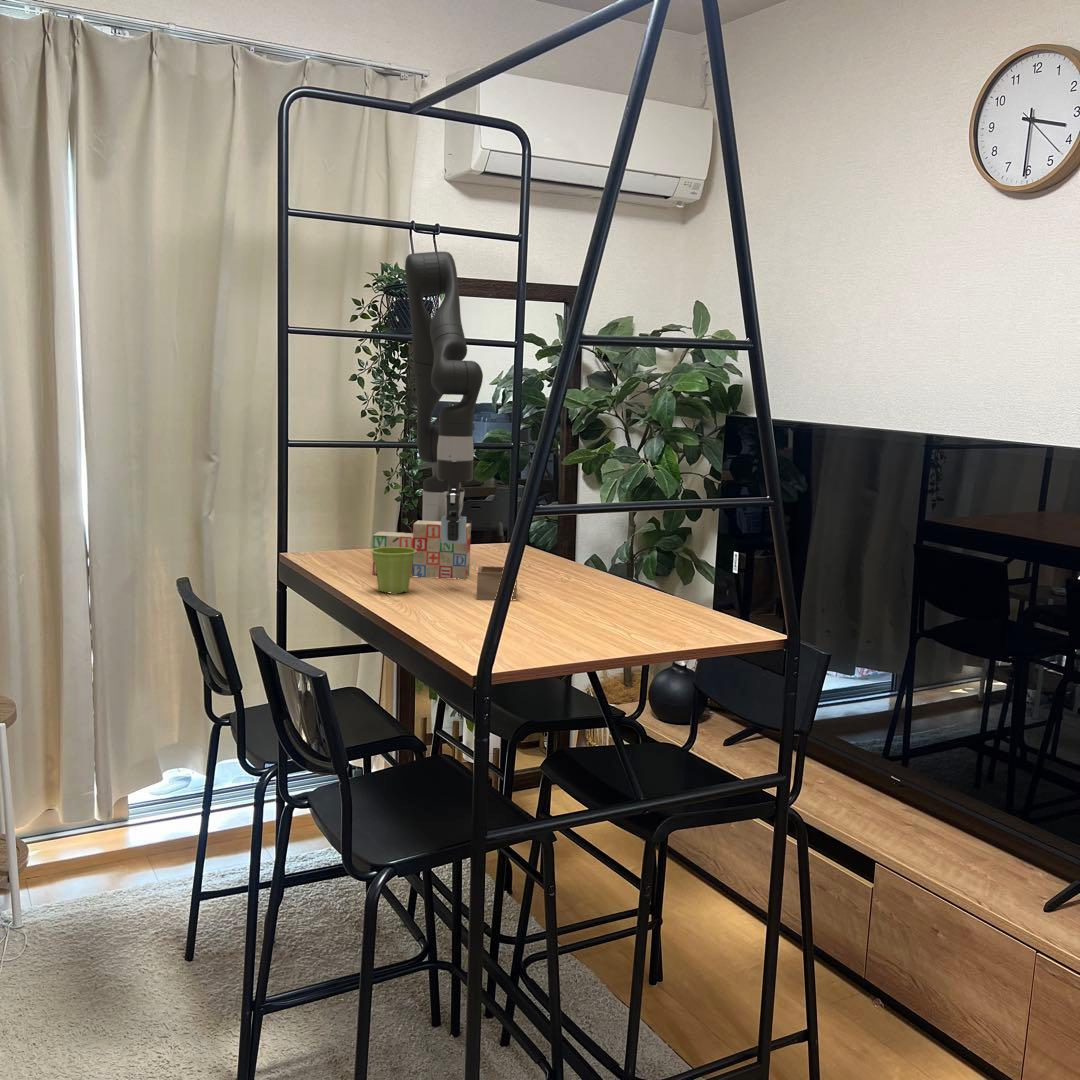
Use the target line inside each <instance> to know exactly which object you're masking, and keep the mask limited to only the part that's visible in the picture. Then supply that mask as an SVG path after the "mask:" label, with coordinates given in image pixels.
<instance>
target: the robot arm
mask: <svg viewBox="0 0 1080 1080" xmlns="http://www.w3.org/2000/svg"><path fill="white" fill-rule="evenodd" d="M404 263H405V264H404V274H405V281H406V282H405V283H406V290H407V299H408V306H409V307H408V308H409V314H410V315H409V317H410V322H411V342H412V343H411V344H412V365H413V377H414V384H415V396H416V416H417V417H416V421H417V422H416V427H417V429H416V430H417V431H416V439H417V440H416V441H417V452H418V457H419V459H420V461H422V462H424V463H429V464H430V463H432V464H436V475H432V476H429V477H427V478H425V479H424V480H423V482H422V515H421V517H422V520H421V521H440V522H441V519H442V517H443V516H447V517H446V519H447V522H448V540H449V541H457V540H458V528H459V521H460V519H459V516H461V517H462V512H463V508H464V497H465V488H463V486H462V483H465V482H471V481H473V477H474V440H473V439H474V438H473V436H474V435H473V433H474V432H473V431H474V424H473V423H474V413H475V409H476V404H477V400H478V397H479V395H480V391H481V388H482V384H483V379H484V375H483V371H482V368H481V366H480V365H479V363H478V362H476V361H473V360H464V359H465V358H466V356H467V354H468V345H467V342H466V341H467V340H466V337H465V333H464V329H463V324H462V317H461V302H460V290H459V281H458V273H457V267H456V262H455V259H454V256H453V255H452V254H451V252H448V251H430V252H427V251H425V252H415V253H410V254H408V255H407V256H406V259H405V262H404ZM434 295H444V297H443V299H442V301H441V303H440V305H439V307H438V308H437V309H436V311H435V313H434V315H433V317H431V315H430V314H429V312H428V310H427V309H426V306H425V303H424V301H423V296H434ZM443 395H447V396H448V395H449V396H450V395H452V396H453V395H455V396H462V399H461V400H460V402H458V403H457V404H454V405H448V406H445V407H442V408H441V409H440V410H439V414H438V424H433V422H432V417H433V415H434V414H433V413H434V412H435V409H436V407H437V405H438V403H439V402H440V400H441V399H442V398H443ZM449 522H450V523H449Z"/></svg>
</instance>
